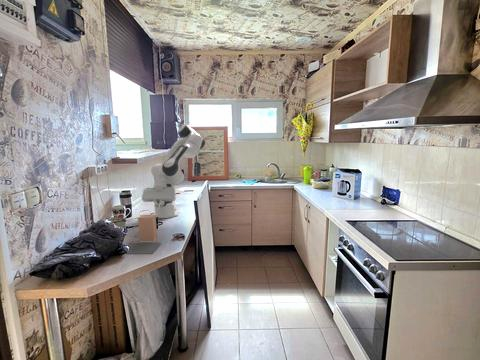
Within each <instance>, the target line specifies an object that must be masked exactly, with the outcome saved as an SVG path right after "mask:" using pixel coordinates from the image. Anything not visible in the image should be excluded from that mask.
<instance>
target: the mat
mask: <svg viewBox="0 0 480 360" xmlns="http://www.w3.org/2000/svg"><path fill="white" fill-rule="evenodd" d="M162 244H163V242H128V243H127V244H126V245H127V246H128V247H129V251H128V252H127V253H125V254H124V255H154V254H155V252H156V251H157V250H158V249H159V247H161V245H162Z"/></svg>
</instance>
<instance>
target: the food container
mask: <svg viewBox="0 0 480 360" xmlns="http://www.w3.org/2000/svg"><path fill="white" fill-rule="evenodd" d="M107 220H108V221H111V222H112V223H114V224H115V225H116V226H118V227H122V228H125V229H126V222H127V219H126V218H125V217H116V218H109V219H107Z"/></svg>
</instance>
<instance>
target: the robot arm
mask: <svg viewBox="0 0 480 360" xmlns="http://www.w3.org/2000/svg"><path fill="white" fill-rule="evenodd" d="M177 135H178V137H179V139H177V140H176V141H175V142H174V143H173V144H172V146H171V147H170V149H169V150H168V151H167V153H165V157H164V158H165V159H164V161H163V162H162V163H156V164H154V165H152V167H151V169H150V172H151V175H152V177H153V181H154V182H153V186H152V187H146V188H145V189H143V192H142V195H141V199H142V201H143V202H145V203H148V202H149V203H151V202H153V203H154V213H153V214H152V215H156V218H157V217H158V218H157V219H169V218H170V219H171V218H173V217H178V216H179V214H178V213H180V210H179V209H177V205H176V203H175V201H177V193H176V188H175V186H178V185H181V184H182V183H183V182H184V181H185V175H184V173H183V171H182V169H181V167H180V165H179V163H180V162H181V161H182V159H183V158H184V157H185V158H188V159H193V158H195V157H196V156H197V155H198V153H199V151H201V150H203V148H204V147H205V145H206V141H205V139H204V137H202V136H201V135H200V134H199V133H198V132H197V131H196V130H195V129H194V128H192V127H191V126H190V125H188V124H183V125H182V126H180V128H179V129H178V131H177Z"/></svg>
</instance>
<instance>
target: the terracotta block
mask: <svg viewBox="0 0 480 360" xmlns="http://www.w3.org/2000/svg"><path fill="white" fill-rule="evenodd" d="M137 220H138V221H137V223H138V235H139V236H138V237H139V243H156V241H157V239H158V232H157V230H158V229H157V217H156V215H153V214H141V215H139V216H138V217H137Z"/></svg>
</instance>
